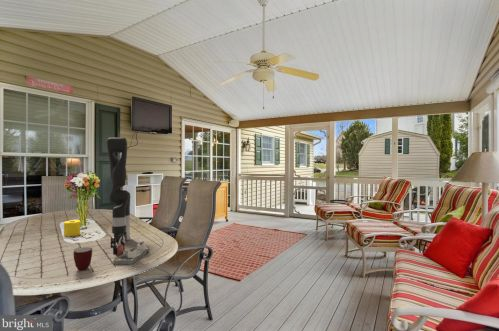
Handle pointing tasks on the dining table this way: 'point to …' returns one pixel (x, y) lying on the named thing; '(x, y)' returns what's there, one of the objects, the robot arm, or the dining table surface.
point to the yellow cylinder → (72, 228)
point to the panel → (125, 260)
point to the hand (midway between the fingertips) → (119, 252)
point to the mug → (82, 258)
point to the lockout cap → (119, 250)
